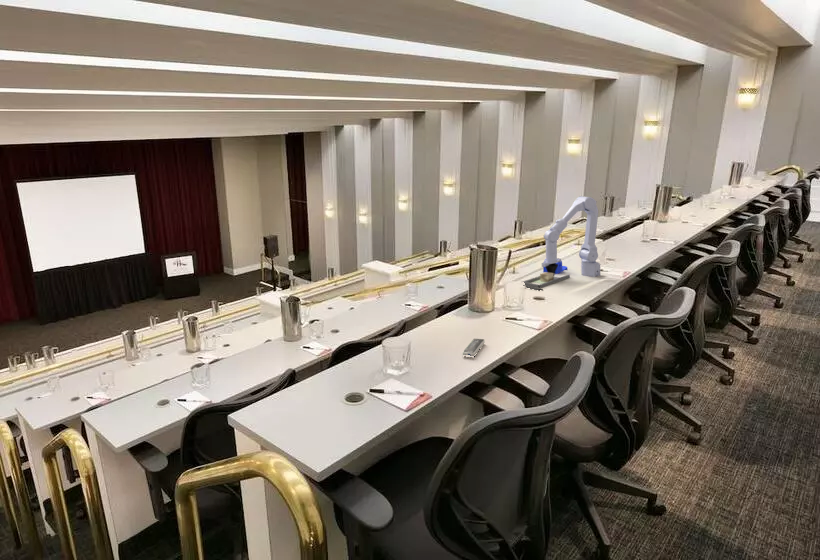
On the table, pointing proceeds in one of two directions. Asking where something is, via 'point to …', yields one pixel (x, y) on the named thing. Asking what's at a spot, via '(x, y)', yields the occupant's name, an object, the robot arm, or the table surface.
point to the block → (546, 276)
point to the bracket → (559, 268)
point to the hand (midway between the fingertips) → (551, 277)
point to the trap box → (542, 284)
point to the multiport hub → (473, 347)
